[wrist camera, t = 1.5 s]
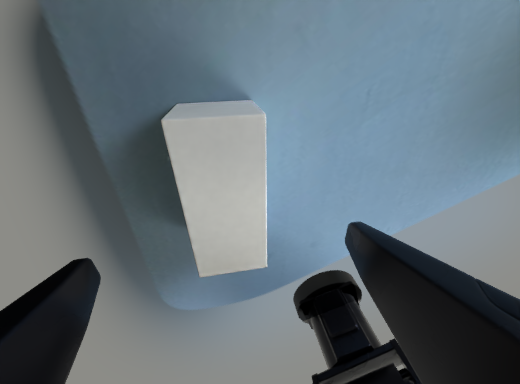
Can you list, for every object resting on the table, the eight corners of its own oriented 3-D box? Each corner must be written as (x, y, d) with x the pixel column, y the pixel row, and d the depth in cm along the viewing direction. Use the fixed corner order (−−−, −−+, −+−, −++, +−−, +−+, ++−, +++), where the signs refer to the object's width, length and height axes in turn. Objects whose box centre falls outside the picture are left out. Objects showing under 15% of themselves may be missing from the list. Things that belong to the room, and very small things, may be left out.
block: (258, 226, 15) (269, 267, 12) (202, 233, 14) (199, 278, 11) (254, 99, 11) (269, 113, 8) (176, 103, 10) (159, 119, 7)
